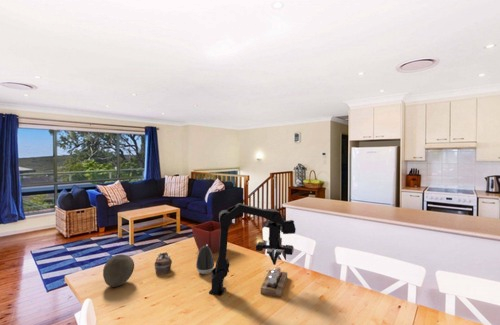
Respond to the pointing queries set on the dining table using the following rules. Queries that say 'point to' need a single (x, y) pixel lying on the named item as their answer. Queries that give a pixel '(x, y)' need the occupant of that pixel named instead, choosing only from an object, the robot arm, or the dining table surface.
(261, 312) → the dining table surface
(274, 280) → the plug metal near
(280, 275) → the peach egg-shaped piece
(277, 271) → the plug metal mid
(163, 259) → the cupcake
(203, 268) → the dark grey ovoid piece
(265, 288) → the brown wooden tray
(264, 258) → the dining table surface
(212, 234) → the plant pot
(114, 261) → the dark grey stone
